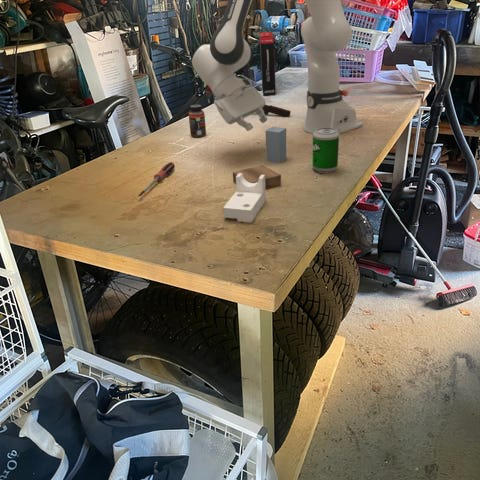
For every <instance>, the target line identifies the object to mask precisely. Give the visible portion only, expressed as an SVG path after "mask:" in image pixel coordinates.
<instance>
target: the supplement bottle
mask: <svg viewBox="0 0 480 480" xmlns="http://www.w3.org/2000/svg"><path fill="white" fill-rule="evenodd" d="M188 123H189V130H190V133H189V134H190V136H191V137H192V138H204V137H205V136H206V135H207V130H206V129H207V128H206V116H205V111H204V110H203V109H202V105H201V104H192V105H190V111H189V112H188Z"/></svg>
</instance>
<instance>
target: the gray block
mask: <svg viewBox="0 0 480 480" xmlns="http://www.w3.org/2000/svg"><path fill="white" fill-rule="evenodd" d="M265 149H266V150H265V157H266V161H265V162H268V163H274V164H282V163H283V162H284V161H286V159H287V158H288V157H287V156H288V154H287V127H280V126H279V127H278V126H271V127H269V128H268V129H266V130H265Z"/></svg>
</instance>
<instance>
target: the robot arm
mask: <svg viewBox="0 0 480 480" xmlns="http://www.w3.org/2000/svg"><path fill="white" fill-rule="evenodd" d="M227 1H228V2H227V5H226V7H225V9H224V10H225V11H224V13H223V17H222V19H221V22H220V24H219V25H218V27H217V28H216V30H215V31H214V33H213V34H212V36H211V38H210V41H209V43H208V44H206V43H205V44H202V45H200V46H199V47H198V48H197V49H196V50H195V52H194V53H193V56H192V59H191V65H192V67H193V69H194V71H195V72H196V74H197V75H198V77H199V78H200V79H201V80H202V82H203V83H204V84H205V85H206V86H208V87H209V88H210V89H211V92H212V93H213V95H214V96H215V97H214V99H213V101H214V102H213V103H214V105H215V106H216V109H217V111H218V113H219V115H220V116H221V117H222V119H223V120H224V121H225V122H226V123H227V124H228V125H232V124H234V123H237V124H238V125H239V126H240V127H242V128H244V130H246V131H247V132H250V131H251V130H252V129H253V128H254V127H253V124H251V122H247V120H245V118H247V117H249V116H251V115H253V114H256V115H257V116H258V117H259V122H260V123H262V124H264V123H266V122H267V121H268V117H267V115H266V114H264V111H263V109H262V108H263V107H264V105H267V104H266V101H265V100H266V99H265V98H264V97H263V96H262V94H261V93H260V92H259V91H258V90H257V89H256V87H254V86H252V85H253V83H252V81H251V80H250V79H247V78H241V77H237V75H235V73H236V72H238V71H240V69H241V70H242V68H243V67H245V66H246V65H247V64H248V63H249V61H250V59H251V56H252V50H251V47H250V44H249V43H248V42H247V41H246V39H245V38H244V26H245V23H246V20H247V18H248V17H247V16H248V15H249V10H250V7H251V4H252V2H253V0H227ZM304 3H305V4H306V6H307V8H308V11H309V14H310V16H309V17H307V18H306V19H305V20H304V21H303V23H302V25H301V28H300V34H301V38H302V40H303V44H304V50H305V56H306V62H307V70H308V71H307V72H308V76H307V78H308V80H307V82H308V83H307V85H308V86H307V88H308V89H307V91H306V105H307V108H306V116H305V121H304V126H303V128H302V129H303V131H305V132H307V133H310V134H313V133H314V132H315V131H316V130H317V129H319V128H334V129H336V131H337V132H338V133H339V135H340V134H343V133H345V132H349V131H352V130H355V129H358V128H360V127H362V126H363V122H362V121H361V120H358V119H357V113H356V109H355V108H354V107H353V106H351V105H350V104H349V103H348V102H346V101H345V100H344V99H343V96H344V97H347V96H348V95H349V91H348V90H345V89H343V90H341V89H340V78H341V77H340V75H341V68H340V64H339V61H338V58H337V53H336V52H339V51H342V50H344V49H345V48H346V47H348V45H349V44H350V42H351V40H352V37H353V31H352V27H351V25H350V22H348V19H347V18H346V15H345V12H344V9H343V5H342V2H341V0H304Z"/></svg>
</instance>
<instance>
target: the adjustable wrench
mask: <svg viewBox="0 0 480 480" xmlns="http://www.w3.org/2000/svg"><path fill="white" fill-rule="evenodd" d="M262 109H263V111H264V114H265V116H267V115H269V114H272V115H276V116H280V117H283V118H289V117H290V116H291V113H292V111H291V110H290V109H285V108H282V107H278V106H275V105H272V104H269V105H268V104H265V105H264V107H263V108H262Z"/></svg>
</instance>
